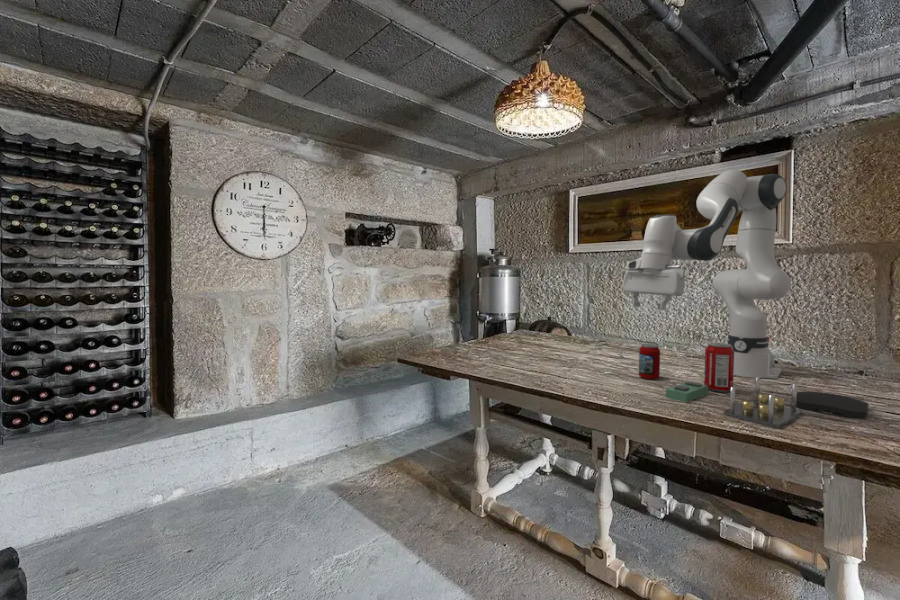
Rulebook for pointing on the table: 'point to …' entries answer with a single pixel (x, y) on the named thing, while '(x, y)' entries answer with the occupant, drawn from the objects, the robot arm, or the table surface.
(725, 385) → the soda can
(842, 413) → the media streaming box
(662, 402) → the table surface
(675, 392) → the board
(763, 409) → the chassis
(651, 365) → the beverage can
